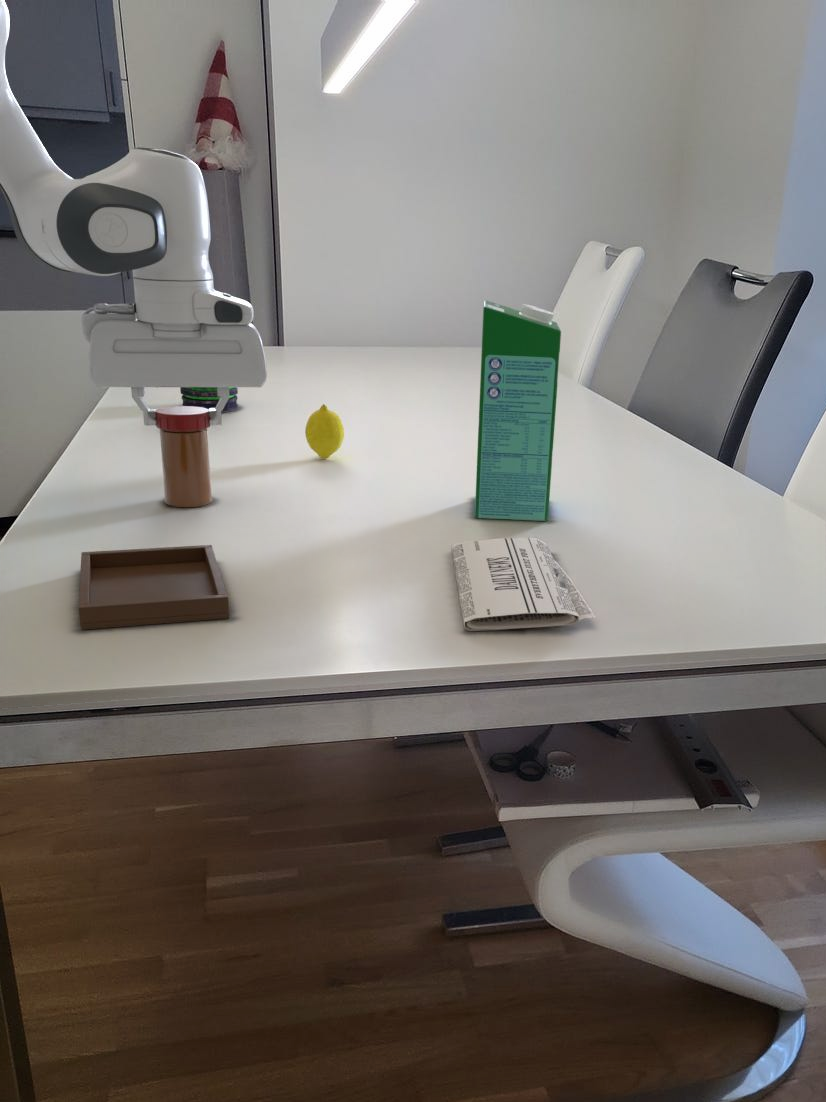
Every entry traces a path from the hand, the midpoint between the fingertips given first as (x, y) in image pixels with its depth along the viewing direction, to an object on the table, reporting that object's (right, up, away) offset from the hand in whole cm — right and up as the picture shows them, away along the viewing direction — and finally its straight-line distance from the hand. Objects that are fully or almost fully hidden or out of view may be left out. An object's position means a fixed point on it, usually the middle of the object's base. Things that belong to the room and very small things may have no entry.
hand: (183, 424), depth 125 cm
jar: (0, -9, +4) cm, 10 cm away
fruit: (+13, +1, +28) cm, 30 cm away
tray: (+5, -22, -26) cm, 34 cm away
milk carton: (+40, -10, +7) cm, 41 cm away
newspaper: (+40, -21, -20) cm, 49 cm away
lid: (0, +1, -1) cm, 1 cm away
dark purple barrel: (-12, +15, +60) cm, 63 cm away
